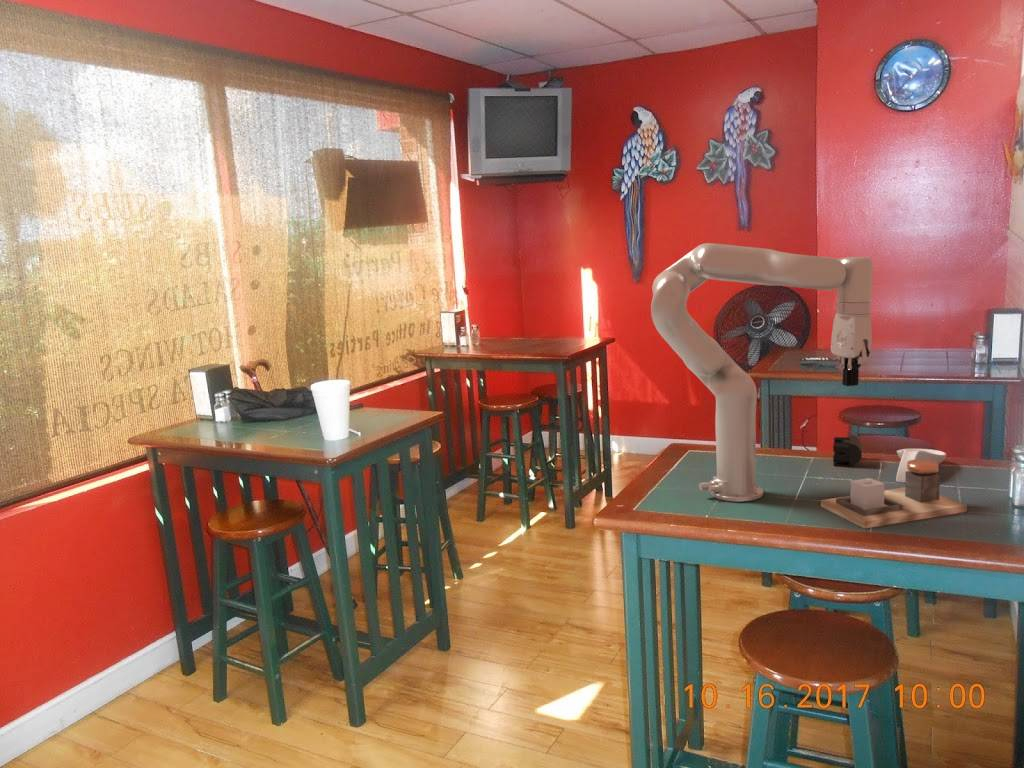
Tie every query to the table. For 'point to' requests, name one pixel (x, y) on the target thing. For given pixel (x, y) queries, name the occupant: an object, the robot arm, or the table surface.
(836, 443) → the end cap
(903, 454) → the spoon rest
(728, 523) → the table surface
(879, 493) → the block
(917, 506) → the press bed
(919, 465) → the disc
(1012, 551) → the table surface
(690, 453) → the table surface
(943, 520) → the table surface
